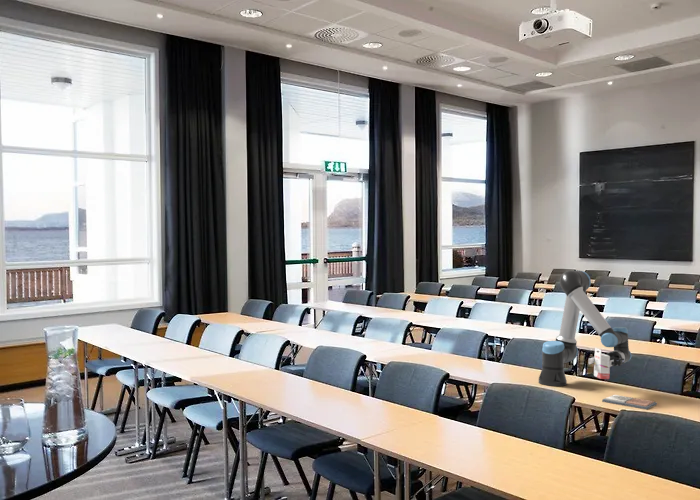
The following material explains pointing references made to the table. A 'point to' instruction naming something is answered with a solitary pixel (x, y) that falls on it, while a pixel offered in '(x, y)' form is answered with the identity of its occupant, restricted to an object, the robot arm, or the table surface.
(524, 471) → the table surface
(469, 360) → the table surface
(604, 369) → the ink cartridge box
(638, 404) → the tile board
